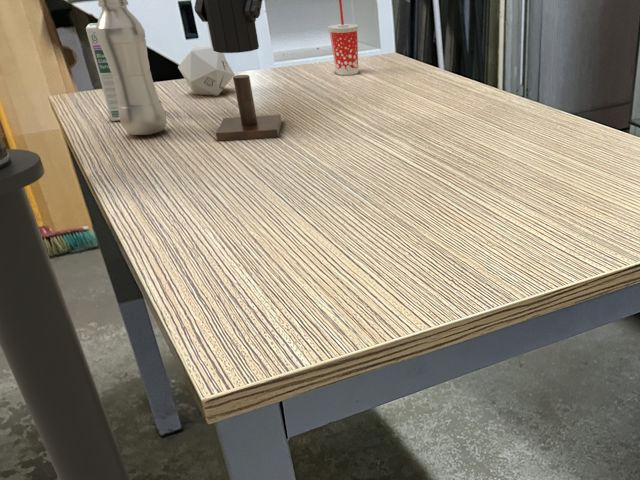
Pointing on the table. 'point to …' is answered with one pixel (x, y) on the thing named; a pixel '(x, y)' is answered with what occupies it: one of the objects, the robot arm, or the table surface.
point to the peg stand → (247, 117)
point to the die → (206, 71)
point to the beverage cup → (344, 46)
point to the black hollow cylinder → (230, 26)
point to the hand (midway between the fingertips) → (226, 18)
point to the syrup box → (103, 73)
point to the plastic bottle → (129, 68)
